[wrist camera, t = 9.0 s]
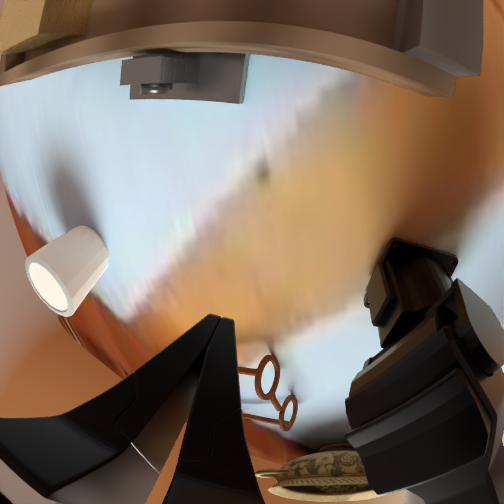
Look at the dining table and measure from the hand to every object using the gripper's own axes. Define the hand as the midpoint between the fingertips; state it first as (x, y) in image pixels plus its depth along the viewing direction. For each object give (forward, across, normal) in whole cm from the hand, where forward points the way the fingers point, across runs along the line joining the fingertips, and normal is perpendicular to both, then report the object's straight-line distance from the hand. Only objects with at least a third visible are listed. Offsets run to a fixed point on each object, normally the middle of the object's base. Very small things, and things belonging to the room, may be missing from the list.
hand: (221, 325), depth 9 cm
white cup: (+12, +18, +9) cm, 24 cm away
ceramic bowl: (+12, -21, +43) cm, 49 cm away
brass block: (+7, +15, -14) cm, 22 cm away
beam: (+8, +7, -14) cm, 18 cm away
